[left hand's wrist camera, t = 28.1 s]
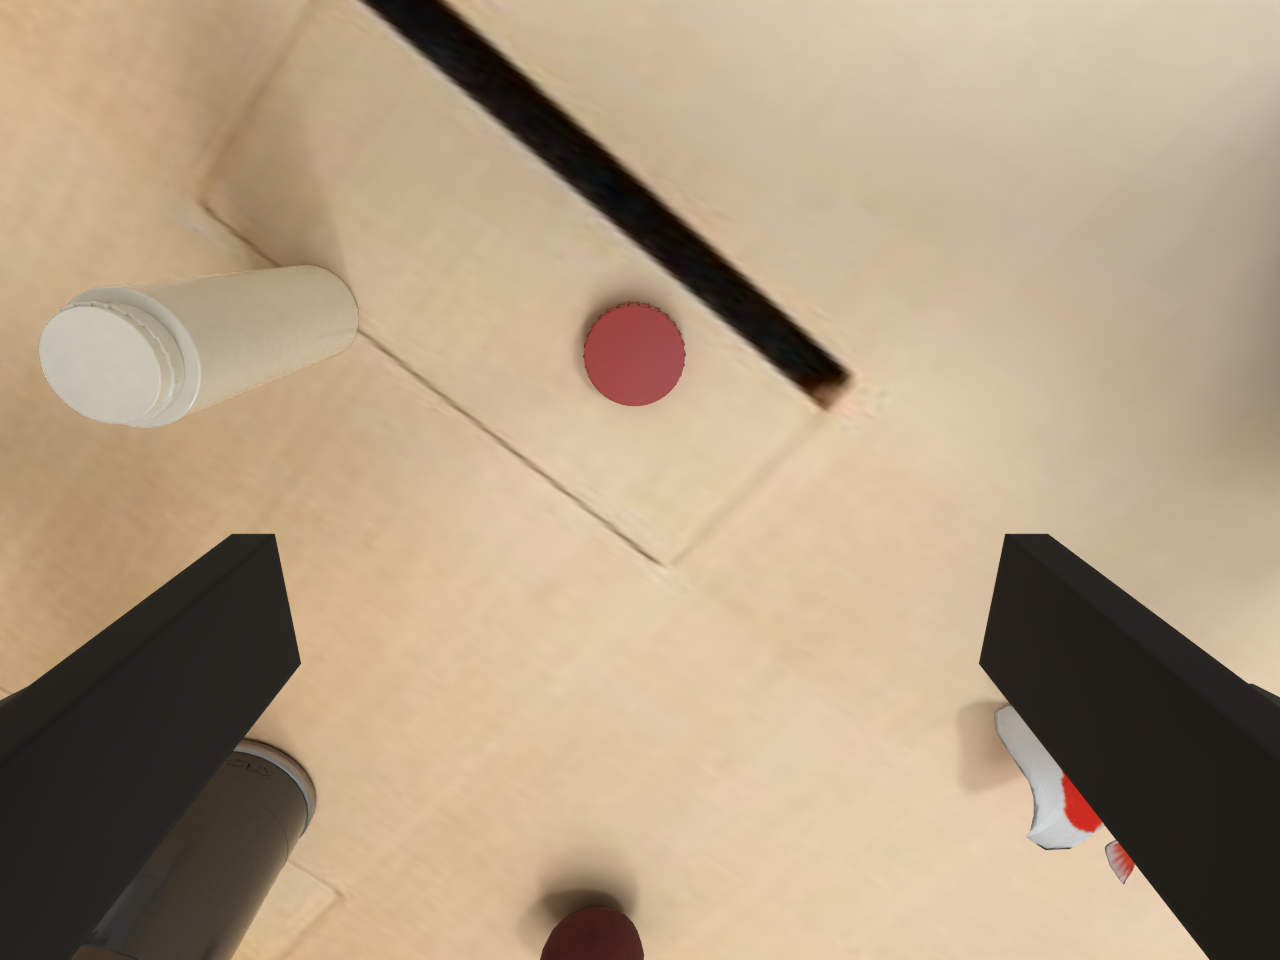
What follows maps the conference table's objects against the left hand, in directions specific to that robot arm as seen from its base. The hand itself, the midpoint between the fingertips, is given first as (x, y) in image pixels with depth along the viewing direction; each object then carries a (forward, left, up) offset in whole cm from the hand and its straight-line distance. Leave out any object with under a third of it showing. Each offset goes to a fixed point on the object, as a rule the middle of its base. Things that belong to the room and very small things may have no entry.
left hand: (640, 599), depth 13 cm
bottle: (+17, -6, -27) cm, 32 cm away
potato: (+13, +41, -27) cm, 51 cm away
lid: (0, 0, -25) cm, 25 cm away
